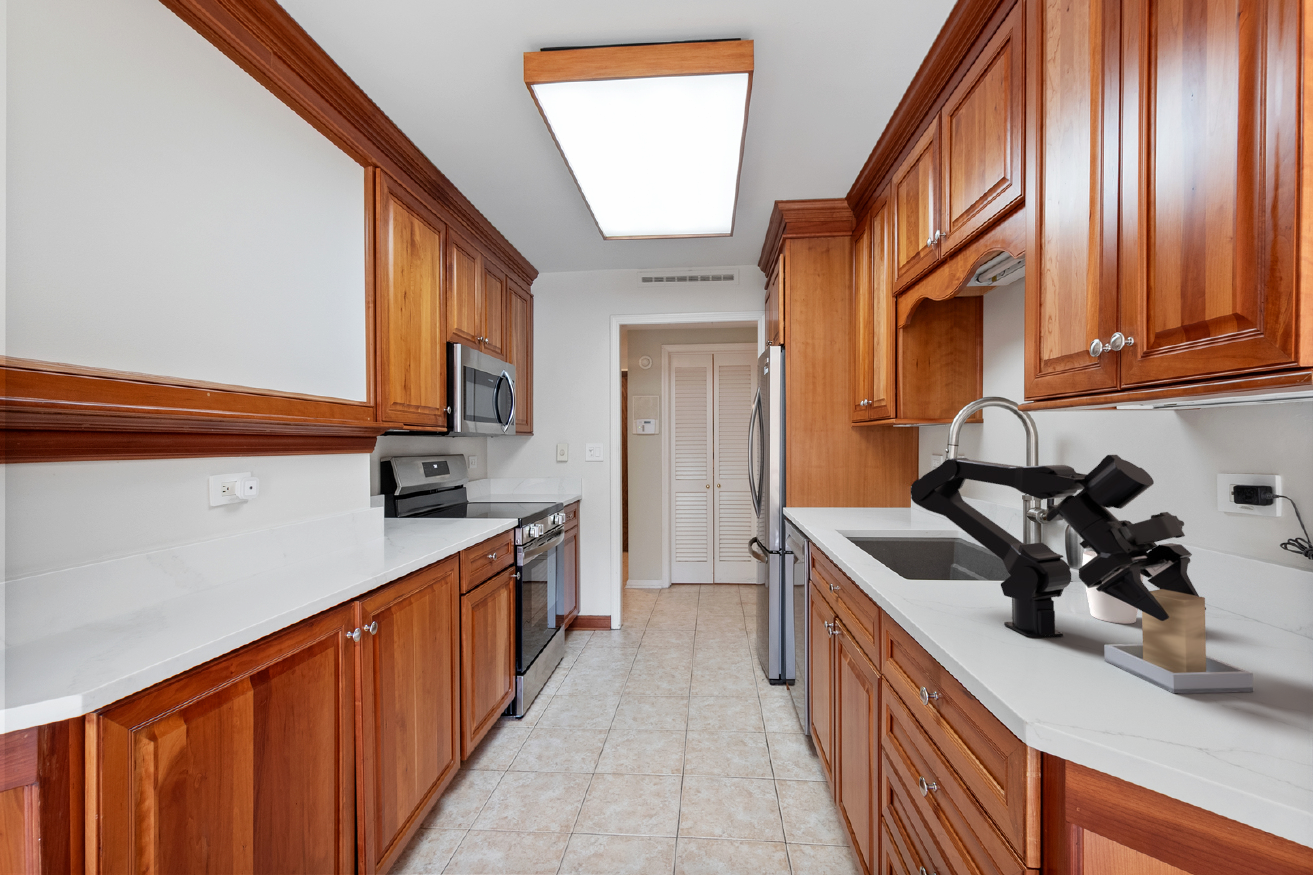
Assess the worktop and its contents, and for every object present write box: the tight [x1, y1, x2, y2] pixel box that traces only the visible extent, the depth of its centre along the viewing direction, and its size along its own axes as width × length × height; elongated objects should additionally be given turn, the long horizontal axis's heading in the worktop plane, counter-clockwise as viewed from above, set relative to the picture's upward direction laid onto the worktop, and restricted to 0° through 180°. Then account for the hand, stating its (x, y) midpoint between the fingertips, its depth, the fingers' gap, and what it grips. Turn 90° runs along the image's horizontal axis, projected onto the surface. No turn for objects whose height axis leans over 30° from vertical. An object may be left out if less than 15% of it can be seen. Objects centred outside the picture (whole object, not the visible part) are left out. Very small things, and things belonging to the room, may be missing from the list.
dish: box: [1103, 643, 1254, 694], centre depth 79 cm, size 11×11×2 cm
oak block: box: [1141, 588, 1207, 673], centre depth 79 cm, size 5×5×11 cm
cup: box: [1081, 550, 1145, 625], centre depth 105 cm, size 9×9×12 cm
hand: (1184, 615), depth 78 cm, fingers open, 9 cm apart
